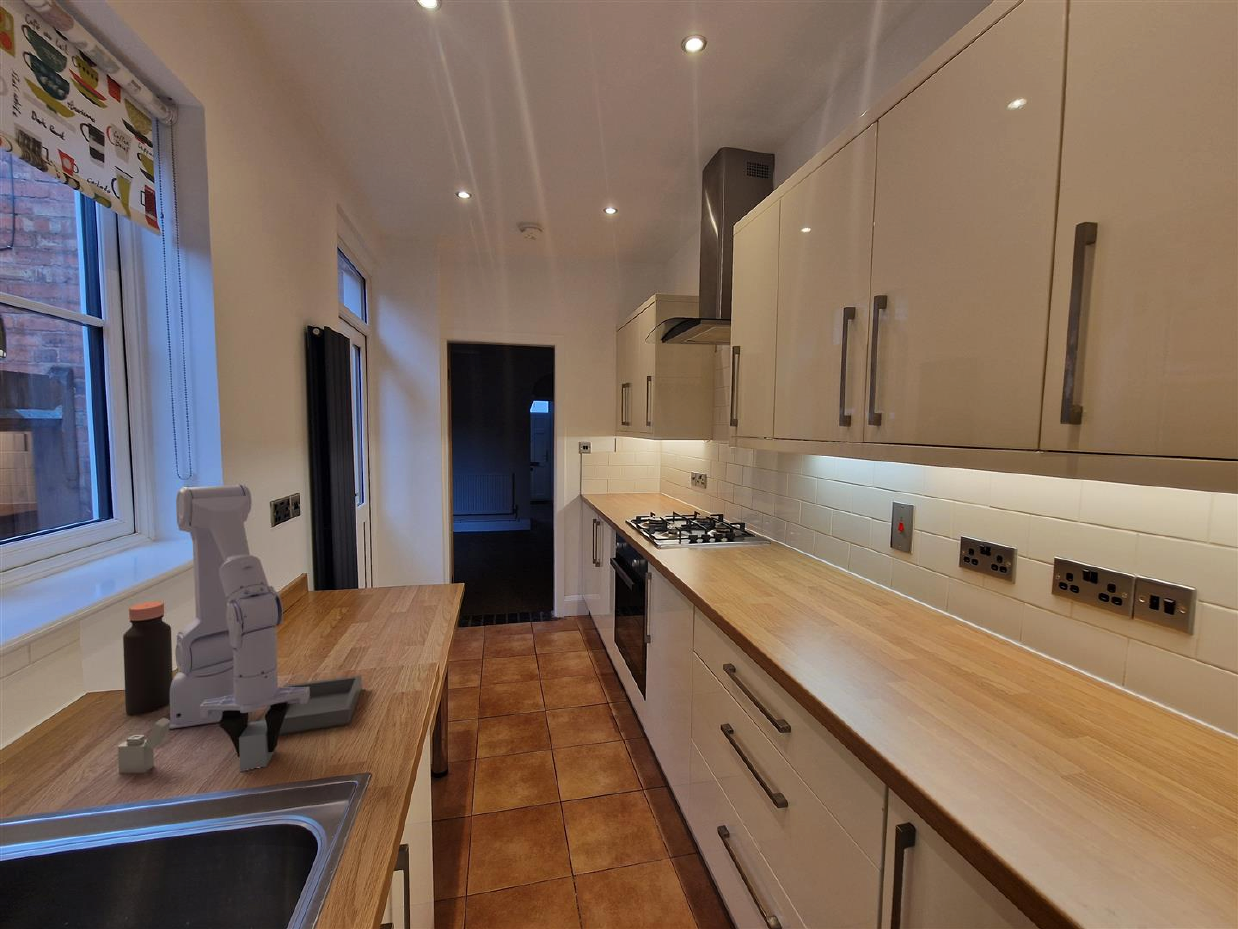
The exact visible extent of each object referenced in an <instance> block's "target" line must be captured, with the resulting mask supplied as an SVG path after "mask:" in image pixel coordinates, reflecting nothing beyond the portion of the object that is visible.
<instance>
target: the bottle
mask: <svg viewBox="0 0 1238 929" xmlns="http://www.w3.org/2000/svg"><path fill="white" fill-rule="evenodd" d="M164 614H165V603H164V602H162V601H148V602H141V603H139V604H135V605H132V606H130V607H129V608H128V615H129V617H128V619H129V622H130V623H131V626H130V628H129V629H128V630H126V631H125V633H124V634H123V635H122V645H123V647H122V648H123V672H124V673H123V674H124V675H123V676H124V697H125V698H124V699H125V705H124V706H125V711H126V714H128V713H129V715H131V714H139V715H145V714H149V713H148V712H150V713H153V712H156V711H159V710H162V709H163V708H165V707H167V706H170V687H171V683H172V680H173V678H174V676H173V675H174V674H173V647H172V627H171V626H170V624H168V623H167V622H165V621H163V618H164V616H165V615H164ZM144 713H145V714H144Z"/></svg>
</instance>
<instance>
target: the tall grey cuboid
mask: <svg viewBox="0 0 1238 929" xmlns="http://www.w3.org/2000/svg"><path fill="white" fill-rule="evenodd" d="M275 752H276V749H275V750H274V752H270V753H268V730H267V724H266V720H264V721H260V720H258V721H251V722H248V726H247V727H246V729H245V730H244V732H243V733H242V734H241V736H240V737H239V753H240V757H239V772H240V771H242V772H246V771H245V770H247V769H248V771H250V770H249V769H252V768H257V767H265V768H267V767H268V765H269V763H268V762H270V761H271V760H270V759H272V758H271V757H273V756H274V754H275ZM272 755H273V756H272ZM269 760H270V761H269ZM267 764H268V765H267ZM266 766H267V767H266Z"/></svg>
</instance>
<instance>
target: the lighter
mask: <svg viewBox="0 0 1238 929" xmlns="http://www.w3.org/2000/svg"><path fill="white" fill-rule="evenodd" d="M171 722H172V721H170V719H168V718H166V717H162V718H160V719H159V720H158V721H157V720H156V722H155V723H154V724H153V726H152V728H151V731H150V732H149V734H148V737H147V738H146V739H145V735H144V734H134V735H131V736H128V737H127V738H126V740H125V741H123V742H122V743H120V744H118V745H117V750H118V751H117V753H118V754H117V755H118V757H117V760H118V774H145V773H147V772H148V771H150V770H151V769H153V768H154V767H155V761H154V759H155V758H154V749H155V748H157V747H158V746H159V745H160V744H162V743H163V741H164V739H165V736H167V735H166V734H167V732H168V730H169V726H170V724H171Z"/></svg>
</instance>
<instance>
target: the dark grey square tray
mask: <svg viewBox="0 0 1238 929" xmlns="http://www.w3.org/2000/svg"><path fill="white" fill-rule="evenodd" d="M362 678H363V676H362V675H353V676H345V677H338V678H328V679H321V680H320V679H319V680H314V681H305V682H299V683H289V684H288V683H287V684H284V685H283V686H282V687H309V689H310V698H309V700H308V701H307V703H305V704H299V703H291V704H290V706H289V708H288V710H287V712H286V715H285V717H284V720H283V722H282V725H281V729H280V732H279V737H280V736H286V735H287V736H288V735H294V734H300V733H305V732H311V731H319V730H325V729H331V728H338V727H344V726H350V724H351V720H352V718H353V715H354V712H355V710H356V707H357V704H358V700H359V698H360V696H361V693H362V689H363V684H362V683H363V681H362ZM270 708H271V706H269V707H267V710H266V711H265V712H264V714H263V715H262V717H261V718H260V720H259V721H264V720H265V715H266V713H267V712H268V710H269V709H270Z"/></svg>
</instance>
